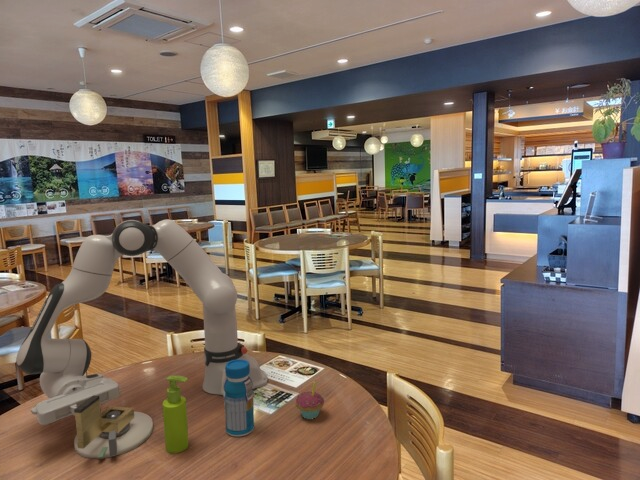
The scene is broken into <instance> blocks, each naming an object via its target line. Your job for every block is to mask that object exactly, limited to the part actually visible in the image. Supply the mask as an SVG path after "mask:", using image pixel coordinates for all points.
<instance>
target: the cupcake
mask: <svg viewBox="0 0 640 480" xmlns="http://www.w3.org/2000/svg"><path fill="white" fill-rule="evenodd" d="M316 385H317V384H316V379H315V380H314V381H313V384H312V390H311V391H305V392H302V393H300V394H299V395H298V396H297V397H296V399H295V407H296V408H297V409H298V410H300V412H301V417H302V418H303V417H304V419H305V418H307V419H306V420H308V419H312V418H315V417H317V416H318V417H319V413H320V410H321V409H322V408H323V406H324V404H325V398H324V397H323V396H322V395H321V393H319V392H316V391H315V390H316ZM318 417H317V418H318ZM315 419H316V418H315ZM312 420H313V419H312Z"/></svg>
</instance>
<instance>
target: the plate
mask: <svg viewBox="0 0 640 480" xmlns="http://www.w3.org/2000/svg"><path fill="white" fill-rule="evenodd" d="M153 430H154V423H153V419H152V418H151V416H149V415H148V414H146V413H144V412H141V411H134V418H133V419H132V420H131V421H130V429H129V431H128V432H127V433H126V434H124V435H122V436H120V437H117V438H116V430H115V431H110V432H109V439H103V438H101V437H100V436H99V435H98V436H97V437H96V438H95V439H94V440H93V441H92V442H90V443H89V444H88V445H87V446H86V447H85V448H84V449H82V448H78V444H77V442H78V439H77V434H76V435H75V437H74V440H73V444H74V450H75V452H76V453H77V454H78V455H79V456H80V457H84V458H87V459H106V458H107V459H108V458H112V457H116V456H120V455H122V454H125V453H128V452H130V451H133V450H134V449H136V448H137V447H139V446H140V445H142V444H143V443H145V442H146V441H147V440H148V439H149V437H151V435H152V433H153Z"/></svg>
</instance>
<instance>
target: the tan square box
mask: <svg viewBox="0 0 640 480" xmlns="http://www.w3.org/2000/svg"><path fill="white" fill-rule="evenodd" d="M120 415H121V414H120V411H112V412H109V413H108V414H107V415H106V419H117V418H118V417H119V416H120ZM129 429H130V422H129V423H128V424H127V425H126V426H125V427H124V428H123V429H122V430H121V431H120V432H119V433H116V438H117V437H120V436H122V435H124V434H126V433H127V432H128V431H129ZM99 436H100V437H101V438H103V439H109V432H102V433H101V434H99Z"/></svg>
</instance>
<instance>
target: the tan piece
mask: <svg viewBox="0 0 640 480" xmlns="http://www.w3.org/2000/svg"><path fill="white" fill-rule="evenodd" d="M99 399H100V398H99V396H94V395H93V396H92V397H90V398H89V399H88V400H86V401H85V402H84V403H82V404H81V405H80V406H78V407H77V408H76V409H74V413H75V415H74V417H75V428H76V435H77V439H78V442H77V444H78V448H82V449H84V448H85V447H86V446H87V445H88V444H89V443H90V442H92V441H93V440H94V439H95V438H96V437H97V436H98V435H99V434H101V433H102V432H110V431H115V430H116V433H119V432H120V431H121V430H122V429H123V428H124V427H125V426H126V425H127V424H128V423H129V422H130V421H131V420H132V419H133V418H134V412H135V408H134V407H128V406H127V407H125V406H114V405H110V406H108V407H107V408H105V409H104V410H103V411H102V412H101V404H100V401H99ZM112 411H120V414H121V415H120V416H119V417H118V418H117V419H106V415H107V414H108V413H109V412H112Z"/></svg>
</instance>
